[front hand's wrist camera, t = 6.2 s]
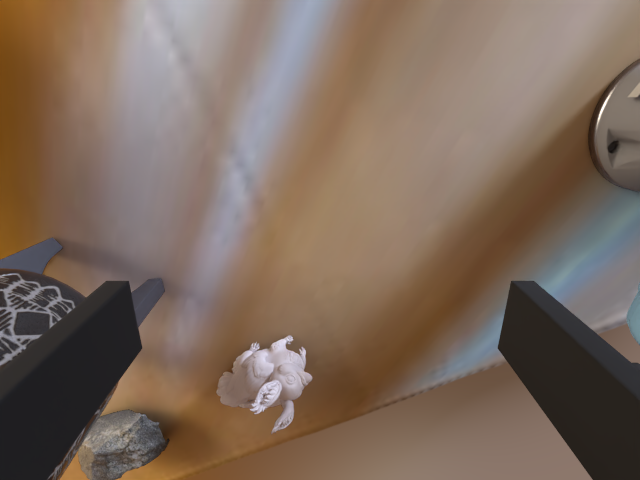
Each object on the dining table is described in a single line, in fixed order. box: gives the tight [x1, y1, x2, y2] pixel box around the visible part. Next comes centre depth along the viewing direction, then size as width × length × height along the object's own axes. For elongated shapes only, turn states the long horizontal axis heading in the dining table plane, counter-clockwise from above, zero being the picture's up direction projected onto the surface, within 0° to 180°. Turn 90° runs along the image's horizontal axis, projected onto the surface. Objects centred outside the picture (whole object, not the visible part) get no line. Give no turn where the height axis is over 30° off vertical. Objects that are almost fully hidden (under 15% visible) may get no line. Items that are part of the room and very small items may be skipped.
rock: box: [78, 410, 169, 480], centre depth 54 cm, size 13×9×6 cm, turn 111°
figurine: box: [216, 335, 312, 434], centre depth 47 cm, size 8×15×13 cm, turn 126°
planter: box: [0, 238, 165, 480], centre depth 36 cm, size 20×20×26 cm
